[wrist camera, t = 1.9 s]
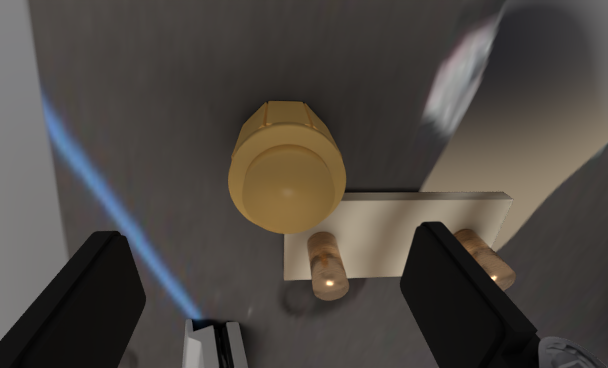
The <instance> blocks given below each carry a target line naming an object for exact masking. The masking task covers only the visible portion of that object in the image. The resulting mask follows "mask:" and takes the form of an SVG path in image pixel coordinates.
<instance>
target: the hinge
mask: <svg viewBox="0 0 608 368" xmlns="http://www.w3.org/2000/svg"><path fill="white" fill-rule="evenodd" d="M182 368H248V365H247V360H246V355H245V351H244V346H243V341H242V337H241V332H240V327H239V323H238V322H227V323H226V327H224V328H222V334H221V338H219V334H218V329H215V330H214V329H213V325H212V326H209V327H206V328H203V329H200V330H197V331H194V332H193V326H192V319H187V320H186V328H185V340H184V352H183V364H182Z"/></svg>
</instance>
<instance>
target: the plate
mask: <svg viewBox="0 0 608 368" xmlns="http://www.w3.org/2000/svg"><path fill="white" fill-rule="evenodd" d="M513 200H514V199H512V198H511V197H510V196H508V195H507V194H505V193H504V192H393V193H344V194H343V197H342V199H341V201H340V203H339V205H338V206H337V207H336V209H335V210H334V211H333V212H332V213H331V214H330V215H329V216H328V217H327V218H326V219H324V220H323V221H321V222H320V223H319V224H318V225H316V226H315V227H313V228H311V229H309V230H306V231H303V232H300V233H294V234H284V280H307V279H312V277H311V270H310V263H309V256H308V249H307V241H308V239H309V238H310V236H312V235H313V234H315V233H317V232H322V231H324V232H329V233H331V234H333V235H334V236H335V238H336V241H337V244H338V248H339V251H340V255H341V258H342V262H343V265H344V269H345V272H346V276H347V278H364V277H392V276H402V274H403V270H404V267H405V263H406V260H407V257H408V253H409V250H410V246H411V243H412V240H413V236H414V233H415V230H416V227H417V226H420V225H421V223H422V222H429V221H440V222H442V223H443V224H444V225H445V226H446V227H447V228H448V229H449V230H450V232H451V233H452V234H454V233H456V232H457V231H459V230H462V229H472V230H473V231H475V232H476V233H477V234H478V235H479V236H480V237H481V239H482V240H483V241H484V242H485V243H486V244H487V245H488V246H489V247H490V248H491V247H492V245H493V243H494V241H495V239H496V237H497V235H498V232H499V230H500V228H501V226H502V224H503V221H504V220H505V217H506V215H507V213H508V211H509V209H510V207H511V204H512V202H513Z"/></svg>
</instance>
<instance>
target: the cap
mask: <svg viewBox="0 0 608 368" xmlns="http://www.w3.org/2000/svg"><path fill="white" fill-rule="evenodd" d="M231 158H232V163H231V167H230V170H229V176H228V186H229V192H230V195H231V198H232V200H233V202H234V204H235V206H236V207H237V208H238V210H239V211H240V212H241V213H242V214H243V215H244V216H245V217H246V218H247V219H248V220H250V221H251V222H253V223H254V224H256V225H258V226H260V227H262V228H264V229H266V230H269V231H271V232H275V233H281V234H294V233H300V232H303V231H306V230H309V229H311V228H313V227H315V226H316V225H318V224H319V223H320V222H321V221H323V220H324V219H326V218H327V217H328V216H329V215H330V214H331V213H332V212H333V211H334V210H335V209H336V207H337V206H338V205H339V203H340V201H341V199H342V197H343V194H344V191H345V186H346V171H345V167H344V164H343V161H342V156H341V153H340V151H339V149H338V147H337V145H336V143H335V142H334V140H333V138H332V136H331V134H330V132H329V130H328V128H327V126H326V125H325V124H324V123H323V122H322V121H321V120H320V119H319V118H318V116H317V115H316V114H315V113H314V112H313V111H312V110H311V109H310V108H309V107H308V105H307V104H306V103H304V104H303V102H296V101H268V104H267V103H266V102H265V103H264V104H263V105H262V106H261V107H260V108H259V109H258V110H257V111H256V112H255V113H254V114H253V115H252V116H251V117H250V118H249V119H248V120H247V121H246V122H245V123H244V124H243V126H242V129H241V131H240V134H239V137H238V140H237V143H236V146H235V148H234V151H233V154H232V157H231Z"/></svg>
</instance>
